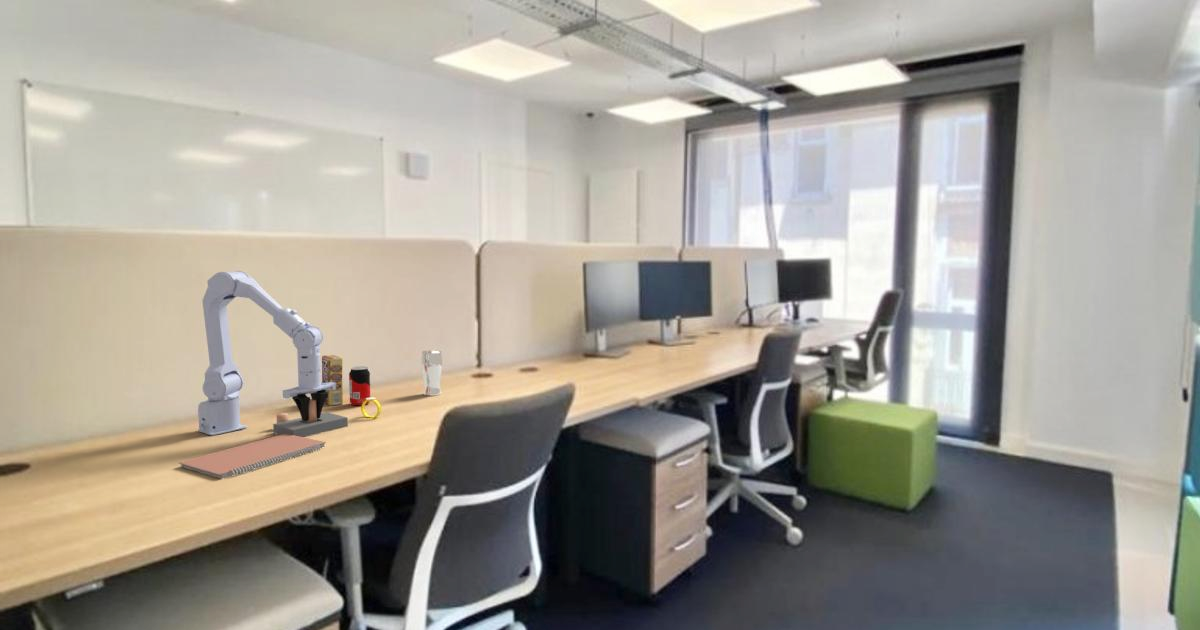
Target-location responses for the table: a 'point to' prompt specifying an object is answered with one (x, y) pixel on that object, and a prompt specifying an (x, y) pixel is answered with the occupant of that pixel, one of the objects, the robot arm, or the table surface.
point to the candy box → (333, 378)
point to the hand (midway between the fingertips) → (311, 418)
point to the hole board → (311, 425)
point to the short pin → (282, 417)
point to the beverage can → (359, 385)
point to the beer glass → (432, 372)
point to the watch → (374, 402)
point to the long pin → (312, 412)
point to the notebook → (252, 455)
